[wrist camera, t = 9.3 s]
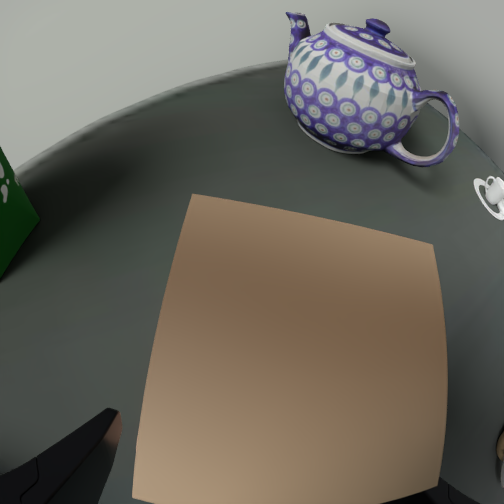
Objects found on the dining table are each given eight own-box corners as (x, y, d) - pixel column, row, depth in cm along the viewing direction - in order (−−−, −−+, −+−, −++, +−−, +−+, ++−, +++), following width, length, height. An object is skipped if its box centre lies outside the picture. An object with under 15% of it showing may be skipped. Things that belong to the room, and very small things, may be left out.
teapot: (436, 184, 30) (500, 99, 17) (369, 228, 24) (467, 96, 11) (313, 74, 38) (339, -5, 25) (228, 85, 32) (244, -19, 19)
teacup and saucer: (509, 216, 32) (523, 202, 29) (500, 233, 29) (517, 218, 26) (479, 176, 35) (492, 161, 32) (466, 186, 32) (481, 169, 29)
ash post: (270, 428, 15) (437, 485, 3) (190, 418, 15) (131, 497, 2) (278, 354, 17) (432, 244, 5) (202, 344, 17) (192, 194, 5)
